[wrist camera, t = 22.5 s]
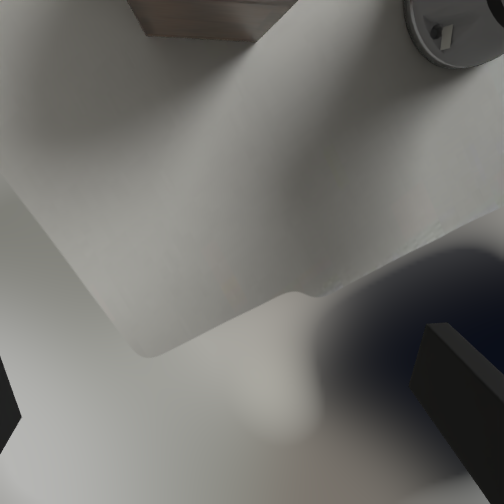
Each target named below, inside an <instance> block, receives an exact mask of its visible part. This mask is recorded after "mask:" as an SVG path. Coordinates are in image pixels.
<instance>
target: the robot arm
mask: <svg viewBox="0 0 504 504" xmlns="http://www.w3.org/2000/svg"><path fill="white" fill-rule="evenodd" d="M404 12H405V19H406V24H407V27H408V31H409V33H410V36H411V38H412V40H413V42H414V44H415V46H416V47H417V49H418V50H419V51H420V52H421V54H422V55H423V56H424V57H426V58H427V59H428V60H429V61H431V62H432V63H434V64H436V65H438V66H441V67H444V68H450V69H460V68H467V67H474V66H478V65H481V64H484V63H486V62H489V61H491V60H493V59H495V58H497V57H499V56H501V55H502V54H504V0H404ZM409 387H410V389H411V390H412V392H413V393H414V395H415V396H416V398H417V399H418V401H419V402H420V404H421V405H422V406H423V408H424V409H425V411H426V412H427V414H428V415H429V416H430V418H431V419H432V421H433V422H434V423H435V425H436V426H437V428H438V429H439V431H440V432H441V434H442V435H443V436H444V438H445V439H446V441H447V442H448V444H449V445H450V446H451V448H452V449H453V451H454V452H455V453H456V455H457V456H458V458H459V459H460V461H461V462H462V463H463V465H464V466H465V468H466V469H467V471H468V472H469V474H470V475H471V476H472V478H473V479H474V481H475V482H476V484H477V485H478V486H479V488H480V489H481V491H482V492H483V494H484V495H485V497H486V498H487V499H488V501H489V502H490V504H504V375H503V374H502V373H501V372H500V371H499V370H498V369H497V368H496V367H495V366H493V365H492V364H491V363H490V362H489V361H488V360H487V359H486V358H485V357H484V356H483V355H482V354H481V353H479V352H478V351H477V350H476V349H475V348H474V347H473V346H472V345H471V344H470V343H469V342H468V341H467V340H466V339H465V338H463V337H462V336H461V335H460V334H459V333H458V332H457V331H456V330H455V329H454V328H453V327H452V326H450V325H449V324H448V323H433V324H426V327H425V330H424V333H423V337H422V341H421V344H420V348H419V352H418V355H417V358H416V362H415V365H414V369H413V373H412V376H411V380H410V383H409ZM20 419H21V414H20V411H19V408H18V405H17V403H16V400H15V397H14V395H13V391H12V388H11V386H10V383H9V380H8V377H7V374H6V372H5V369H4V366H3V363H2V360H1V357H0V454H1V452H2V450H3V448H4V447H5V445H6V443H7V441H8V440H9V438H10V436H11V435H12V433H13V431H14V429H15V428H16V426H17V424H18V422H19V421H20Z"/></svg>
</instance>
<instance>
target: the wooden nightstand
mask: <svg viewBox="0 0 504 504" xmlns="http://www.w3.org/2000/svg"><path fill="white" fill-rule="evenodd" d="M297 1H298V0H127V2H128V4H129V5H130V7H131V9H132V11H133V13H134V15H135V16H136V18H137V20H138V22H139V24H140V26H141V27H142V29H143V31H144V33H145V35H146V36H156V37H174V38H192V39H210V40H229V41H247V42H257V41H258V40H259V39H260V38H261V37H262V36H263V35H264V34H265V33H266V32H267V31H268V30H269V29H270V28H271V27H272V26H273V25H274V24H275V23H276V22H277V21H278V20H279V19H280V18H281V17H282V16H283V15H284V14H285V13H286V12H287V11H288V10H289V9H290V8H291V7H292V6H293V5H294V4H295V3H296V2H297Z"/></svg>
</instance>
